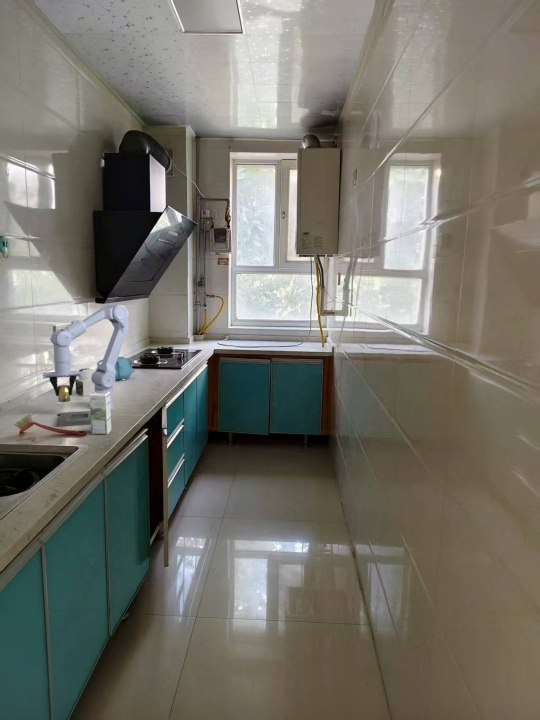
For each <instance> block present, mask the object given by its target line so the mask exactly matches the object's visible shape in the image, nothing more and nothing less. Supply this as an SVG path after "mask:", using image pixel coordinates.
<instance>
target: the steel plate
mask: <svg viewBox="0 0 540 720" xmlns="http://www.w3.org/2000/svg"><path fill="white" fill-rule="evenodd" d="M57 423H58V428H62V427H63V428H64V427H77V426H78V427H79V426H91V415H90V410H86V411H85V410H83V411H69V412H61V416H59V419H58V422H57Z"/></svg>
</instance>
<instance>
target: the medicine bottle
mask: <svg viewBox="0 0 540 720" xmlns="http://www.w3.org/2000/svg"><path fill="white" fill-rule="evenodd" d="M78 371H83V377H80V376H79V377H78V378H76V380H75V383H74V384H75V394H76V395H78V396H82V397H89V396H90V394H91V393H93V392H95V384H94V383H93V382H92V379H91V377H92V374H93V369H92V368H81V369H79V370H78ZM88 395H89V396H88Z"/></svg>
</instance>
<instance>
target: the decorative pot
mask: <svg viewBox="0 0 540 720" xmlns="http://www.w3.org/2000/svg"><path fill="white" fill-rule="evenodd" d="M128 360H129V361H130V363H129V361H128ZM102 361H103V359H100V360H98V362H97V364H96V365H97V367H98V366H99V365H100V364H101V363H102ZM133 365H134V360H133V359H132V358H130V357H124V356H118V359H117V362H116V364H115V371H116V374H115V381H117V380H121V379H126V380H127V379H129V378H130V377H131V375H132V374H133V373H134V372H135V369H134V368H133Z"/></svg>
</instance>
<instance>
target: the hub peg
mask: <svg viewBox="0 0 540 720" xmlns="http://www.w3.org/2000/svg"><path fill="white" fill-rule="evenodd" d="M57 386H58V396H57V399H58V402H59V403H68V402H71V395H70V384H61V385H57Z"/></svg>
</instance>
